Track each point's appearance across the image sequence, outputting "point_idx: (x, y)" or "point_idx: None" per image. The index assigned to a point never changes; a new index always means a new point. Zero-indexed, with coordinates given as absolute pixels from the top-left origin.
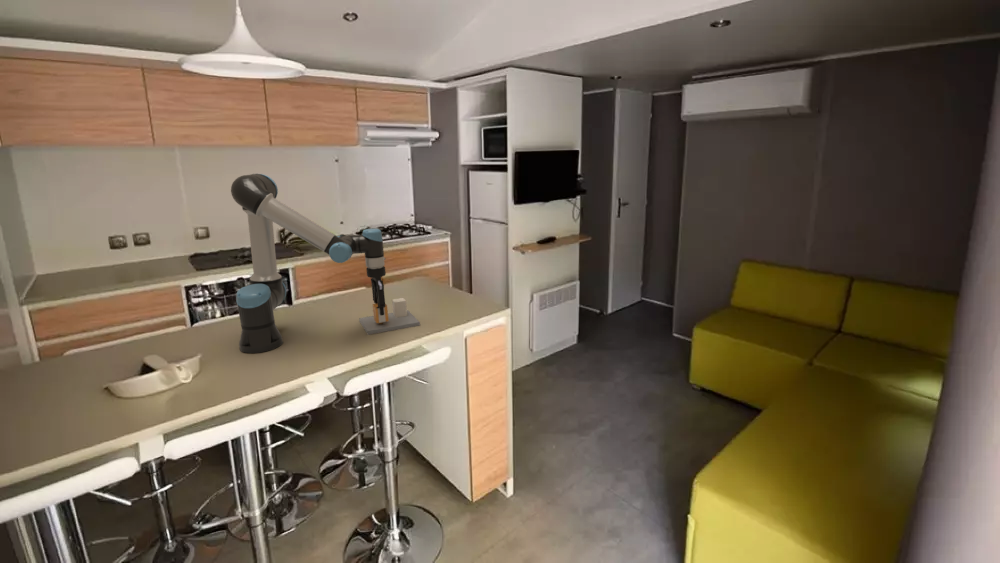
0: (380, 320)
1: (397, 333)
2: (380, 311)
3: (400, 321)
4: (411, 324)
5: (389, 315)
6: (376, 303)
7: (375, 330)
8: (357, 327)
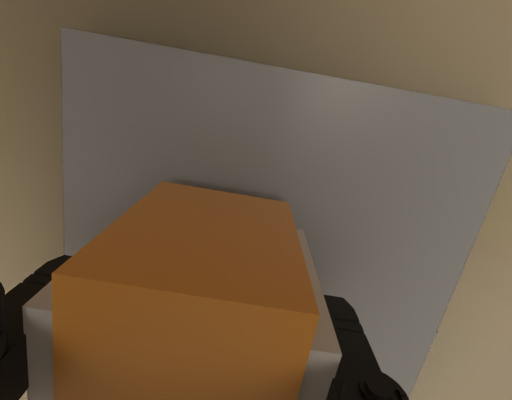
0: None
1: (6, 256)
2: (14, 290)
3: None
4: None
5: None
6: (329, 387)
7: (66, 115)
8: (361, 30)
